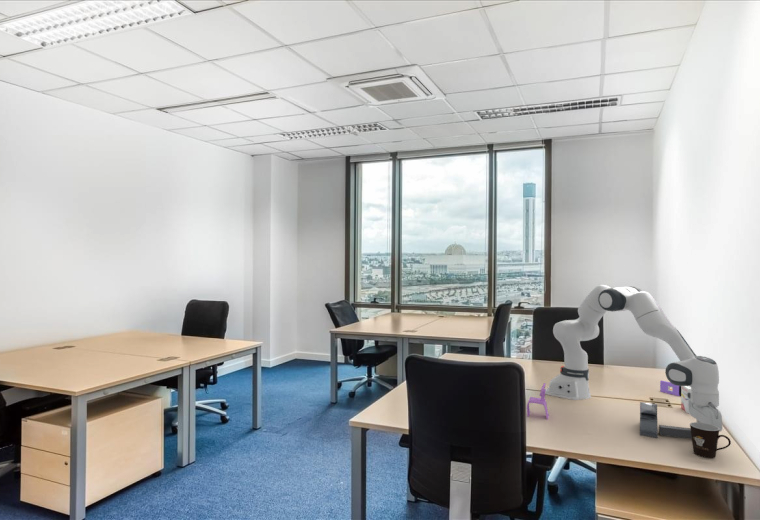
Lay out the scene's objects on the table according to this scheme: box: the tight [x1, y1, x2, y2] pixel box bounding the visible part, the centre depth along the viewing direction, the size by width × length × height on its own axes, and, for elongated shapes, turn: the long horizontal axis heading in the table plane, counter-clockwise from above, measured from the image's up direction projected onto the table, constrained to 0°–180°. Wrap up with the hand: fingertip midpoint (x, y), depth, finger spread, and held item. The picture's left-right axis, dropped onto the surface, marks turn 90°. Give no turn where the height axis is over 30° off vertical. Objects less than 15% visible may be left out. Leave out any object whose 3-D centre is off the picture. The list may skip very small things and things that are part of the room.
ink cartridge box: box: [680, 386, 691, 415], centre depth 212 cm, size 9×5×15 cm, turn 168°
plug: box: [658, 424, 692, 440], centre depth 181 cm, size 16×4×4 cm, turn 69°
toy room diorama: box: [659, 380, 681, 397], centre depth 241 cm, size 12×12×7 cm
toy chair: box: [526, 382, 550, 420], centre depth 204 cm, size 8×9×15 cm
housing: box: [639, 401, 659, 439], centre depth 188 cm, size 6×17×11 cm, turn 150°
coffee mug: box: [689, 421, 732, 459], centre depth 162 cm, size 12×9×10 cm
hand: (704, 434), depth 178 cm, fingers closed on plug, 5 cm apart
